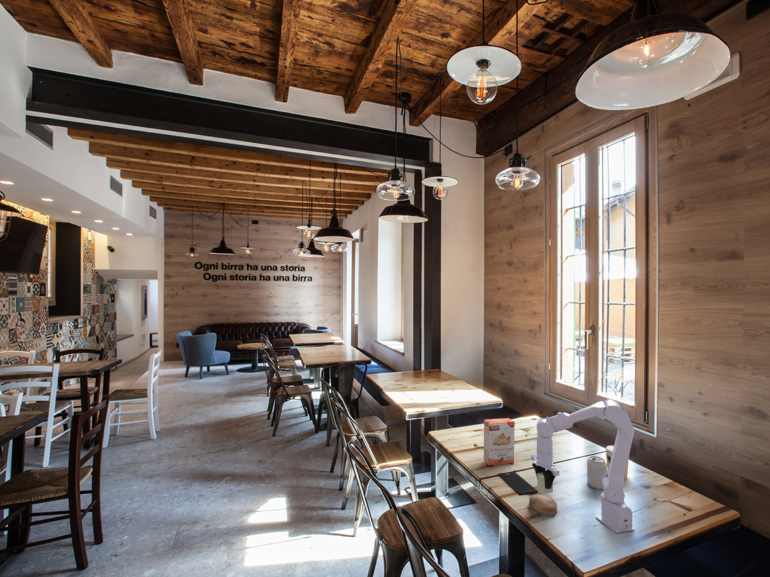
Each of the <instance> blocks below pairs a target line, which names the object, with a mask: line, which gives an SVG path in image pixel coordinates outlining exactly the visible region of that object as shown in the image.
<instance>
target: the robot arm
mask: <svg viewBox="0 0 770 577" xmlns="http://www.w3.org/2000/svg"><path fill="white" fill-rule="evenodd" d="M556 413H557V414H556V415H553V416H550V417H549V416H546V417H545V418H541V419H539V420H538V421H537V423H536V432H537V433H536V435H537V437H536V453H533V454H530V459H531V460H532V461H534V462H533V463H531V465H532V467H533V470H534V472H535V476H536V477H537V473H543V476H544V480H545V488H546V489H551V487H552V484H553V485H554V480H555V479H556V478H557V477H558V476H560V470H559V469H558V468H557V467H556V465H555V464H554V463H553V458H554V457H553V450H554V449H553V446H554V444H553V438H552V437H553V434H554V433H559V432H562V431H564V430H567V429H570V428H573V425H574V424H575V423H577V422H581V421H585V420H588V419H593V418H597V419H601V420H603V421H605V418H606V420H607V421H608V422H610V423H612V424H613V425H614V426H615V428H616V429H617V432H616V436H615V441H614V445H613V446H614V448H613V452H612V457H611V461H610V465H609V468H608V469H607V471H606V474H605V475H604V476H603V477H602V480H601V483H602V486H603V489H602V490H603V491H602V492H601V494H600V496H601V497H600V500H601V503H600V504H601V506H600V509H601V512H600V513H601V514H600V515H595V518H596V519H597V520H598V521H600V522H601V523H602V524H604V525H605V526H606V527H608V528H609V529H611V530H612V531H613V532H615V533H616V534H619V533H625V532H630V531H634V530H635V528H634V526H633V511H632V509H631V508H630V507H629V506H628V505H627V504H626V502H625V498H626V495H625V491H624V488H625V479H624V474H625V470H626V465H627V461H628V457H629V458H630V452H631V448H632V444H633V439H634V435H635V430H636V429H635V428H634V425H633V424H632V421H631V419H630V416H629V414H628V413H627V412H626V410H625V409H624V407H623V406H622V405H621V404H620V403H619V402H618V401H617V400H616V399H612V398H611V399H610V398H609V399H608V398H607V399H606V400H604V401H603V400H602V401H598V402H596V403H593V404H590V405H588V406H586V407H584V408H581V409H579V410H576V411H574V412H572V413H567V412H560V411H559V412H556ZM628 462H629V461H628Z"/></svg>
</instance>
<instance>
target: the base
mask: <svg viewBox="0 0 770 577" xmlns="http://www.w3.org/2000/svg"><path fill="white" fill-rule="evenodd" d="M528 500H529V501H528V503H529V508H530V509H531V510H532V511H533V512H535V513H536V514H540V515H543V516H554V515H556V514H557V513H558V502H557V501H556V500H555V499H554V498H552V497H550V496H548V495H545V494H538V493H534V494H531V495H530V496H529V499H528Z"/></svg>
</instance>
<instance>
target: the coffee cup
mask: <svg viewBox="0 0 770 577" xmlns="http://www.w3.org/2000/svg"><path fill="white" fill-rule="evenodd" d="M613 448H614V445H607V446H606V447H605V457H606V458H605V459H606V464H607V469H608V468H609V465H610V461H611V457H612V452H613ZM629 458H630V456H629V457H628V461H627V465H626V470H625V474H624V480H627V478H628V475H629V474H628V473H629V472H628V471H629V462H630V461H629V460H630V459H629Z"/></svg>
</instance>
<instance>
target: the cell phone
mask: <svg viewBox="0 0 770 577" xmlns="http://www.w3.org/2000/svg"><path fill="white" fill-rule="evenodd" d="M497 476H499V477H500V479H502V480H503V481H504V482H505V484H507V485H508V486H509V487H510V488H512V490H513V491H515V493H517V494H518V495H519V496H524V495H526V496H527V495H534V494H538V492H539V491H538V489H536V487H533V486H532V485H531V484H530V483H529V482H528V481H527V480H525V479H524V478H523V477H521V476H520V475H519V474H518V473H517V472H516V471H507V472H499V473H497Z"/></svg>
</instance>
